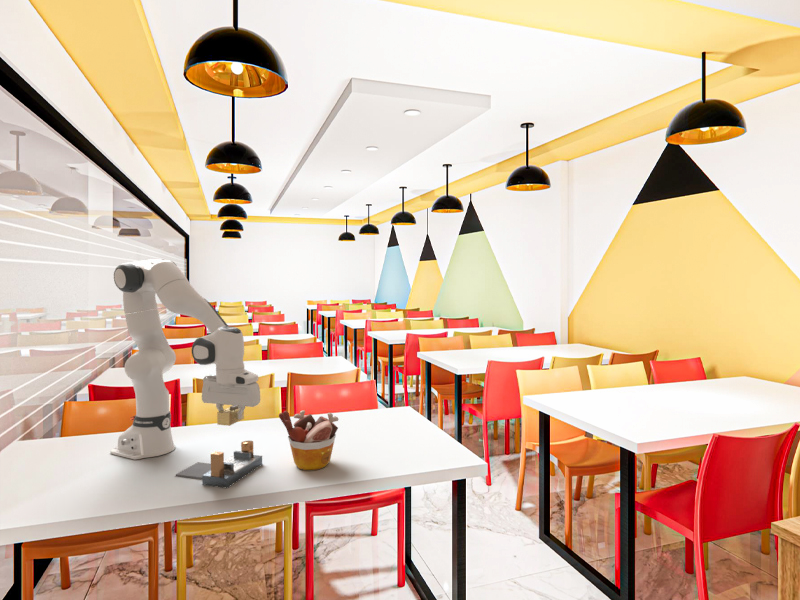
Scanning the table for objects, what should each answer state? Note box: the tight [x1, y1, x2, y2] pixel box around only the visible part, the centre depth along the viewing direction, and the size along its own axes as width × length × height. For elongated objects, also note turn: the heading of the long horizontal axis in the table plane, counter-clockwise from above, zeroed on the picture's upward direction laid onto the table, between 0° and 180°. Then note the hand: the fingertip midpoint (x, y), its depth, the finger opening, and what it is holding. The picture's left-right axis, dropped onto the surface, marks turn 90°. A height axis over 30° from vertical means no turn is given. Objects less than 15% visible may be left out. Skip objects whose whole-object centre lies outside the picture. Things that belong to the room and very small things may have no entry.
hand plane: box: [201, 440, 263, 489], centre depth 162 cm, size 20×9×10 cm, turn 164°
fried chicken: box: [278, 409, 339, 471], centre depth 170 cm, size 20×16×20 cm
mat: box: [175, 461, 211, 480], centre depth 165 cm, size 11×11×1 cm
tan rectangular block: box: [216, 405, 245, 427], centre depth 162 cm, size 8×4×5 cm, turn 164°
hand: (230, 417), depth 162 cm, fingers closed on tan rectangular block, 4 cm apart
